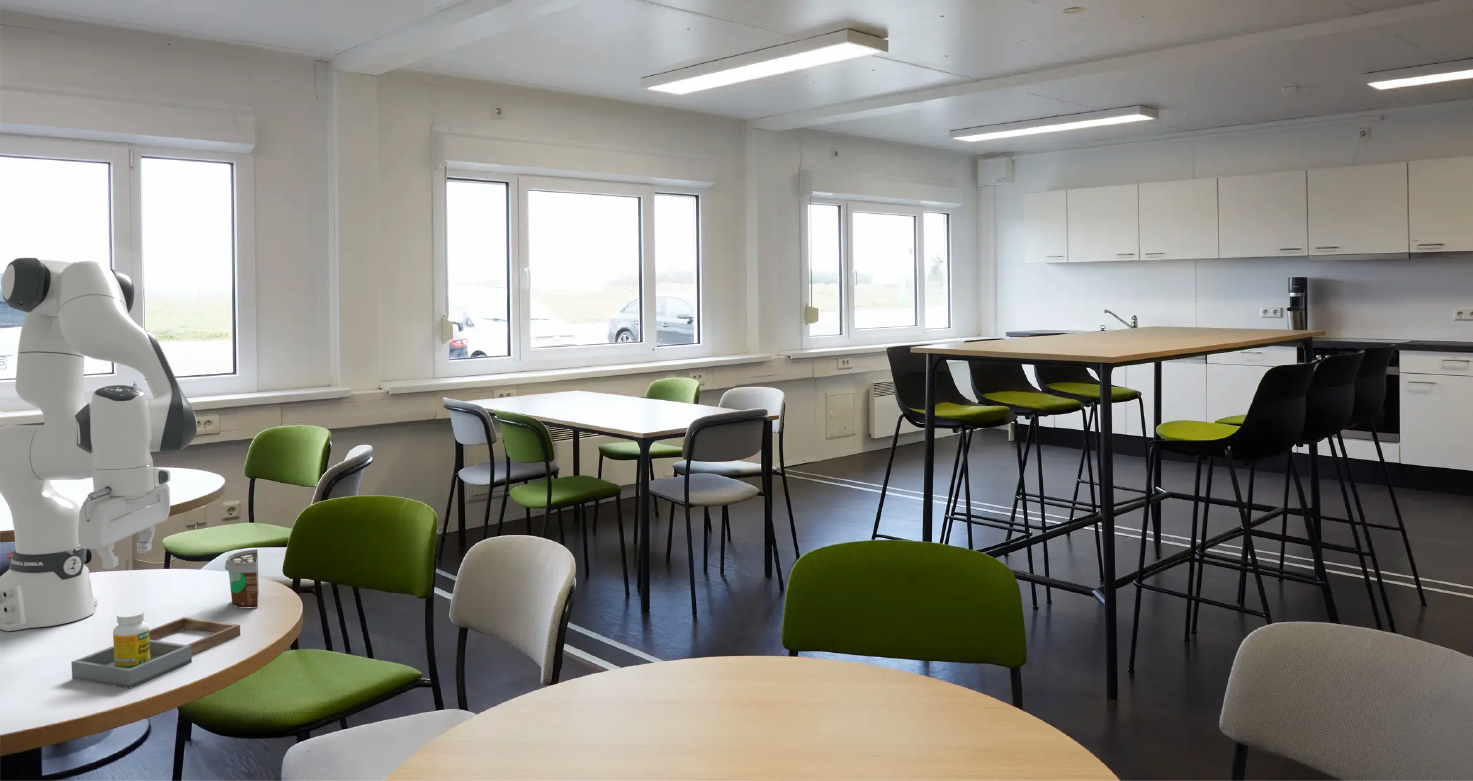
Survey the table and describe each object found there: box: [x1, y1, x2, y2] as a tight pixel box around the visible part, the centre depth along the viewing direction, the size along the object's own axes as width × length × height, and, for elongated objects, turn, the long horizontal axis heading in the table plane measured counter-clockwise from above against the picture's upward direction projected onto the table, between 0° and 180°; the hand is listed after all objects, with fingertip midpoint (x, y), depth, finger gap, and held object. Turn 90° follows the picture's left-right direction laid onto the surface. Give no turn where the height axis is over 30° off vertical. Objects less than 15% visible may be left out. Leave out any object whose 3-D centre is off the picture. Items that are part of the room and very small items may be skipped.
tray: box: [71, 640, 193, 689], centre depth 171 cm, size 13×13×3 cm
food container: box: [224, 548, 260, 608], centre depth 208 cm, size 12×6×10 cm, turn 25°
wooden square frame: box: [149, 616, 241, 656], centre depth 185 cm, size 14×14×2 cm
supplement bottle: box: [112, 609, 150, 669], centre depth 171 cm, size 5×5×10 cm
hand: (128, 559), depth 169 cm, fingers open, 8 cm apart
